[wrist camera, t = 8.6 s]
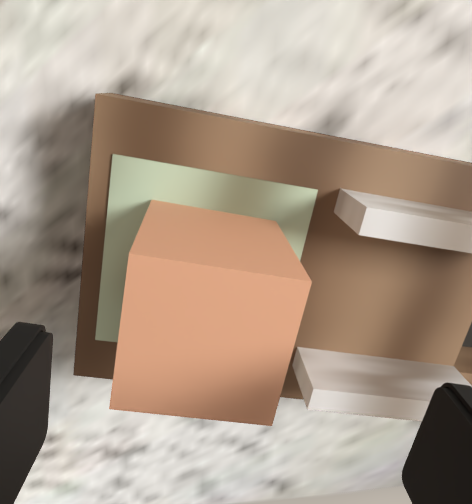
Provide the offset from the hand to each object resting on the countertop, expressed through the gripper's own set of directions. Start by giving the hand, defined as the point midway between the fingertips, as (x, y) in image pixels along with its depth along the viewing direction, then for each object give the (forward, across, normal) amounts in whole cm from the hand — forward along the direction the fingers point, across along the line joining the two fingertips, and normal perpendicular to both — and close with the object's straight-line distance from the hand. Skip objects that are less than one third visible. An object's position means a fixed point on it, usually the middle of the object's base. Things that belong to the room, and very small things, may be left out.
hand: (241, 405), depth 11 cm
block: (+8, +1, 0) cm, 8 cm away
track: (+12, -7, 0) cm, 14 cm away
